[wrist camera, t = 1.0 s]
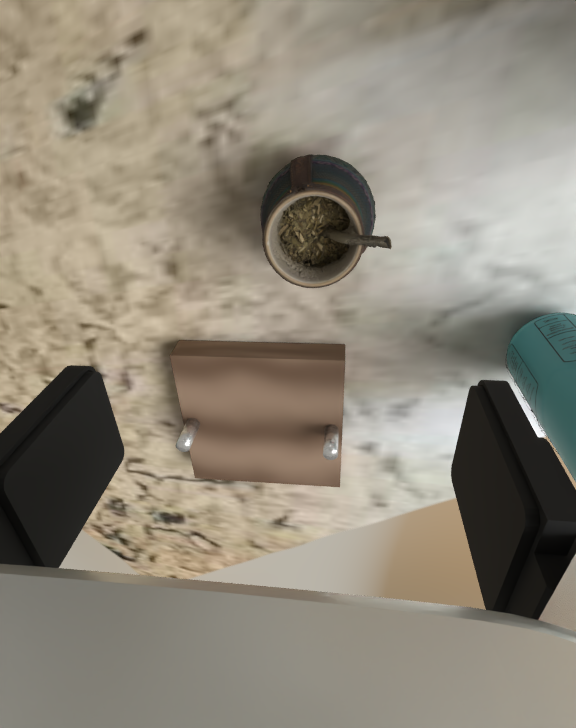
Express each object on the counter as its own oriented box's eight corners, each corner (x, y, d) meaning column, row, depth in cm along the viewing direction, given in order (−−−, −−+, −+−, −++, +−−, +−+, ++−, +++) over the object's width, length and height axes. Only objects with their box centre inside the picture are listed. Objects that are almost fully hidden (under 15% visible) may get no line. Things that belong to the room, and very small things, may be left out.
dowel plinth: (179, 340, 38) (156, 376, 33) (345, 344, 36) (345, 383, 31) (202, 459, 45) (185, 502, 40) (340, 467, 44) (339, 513, 39)
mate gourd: (251, 171, 30) (214, 206, 21) (361, 127, 28) (367, 148, 19) (288, 268, 33) (268, 332, 25) (388, 236, 31) (404, 294, 23)
